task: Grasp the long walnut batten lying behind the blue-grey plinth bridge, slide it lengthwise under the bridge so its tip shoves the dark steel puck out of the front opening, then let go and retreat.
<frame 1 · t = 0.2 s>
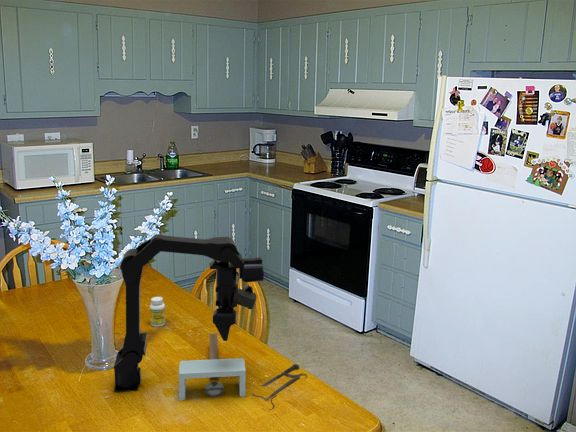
hand: (226, 333, 157), 14 cm above the table, fingers open, 9 cm apart
plinth bridge: (212, 391, 154), on the table
supplement bottle: (158, 324, 195), on the table
walnut batten: (213, 363, 169), on the table
steel puck: (214, 393, 153), on the table
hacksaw: (282, 388, 157), on the table
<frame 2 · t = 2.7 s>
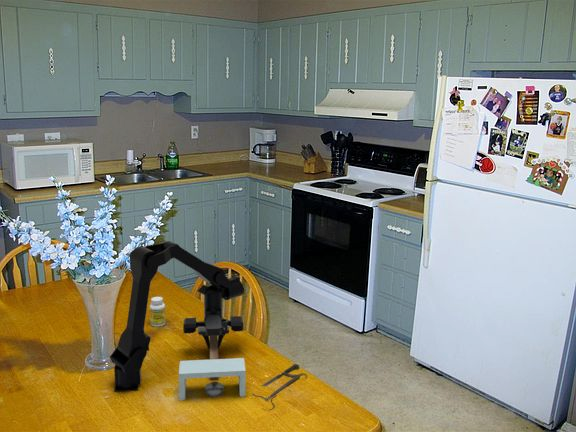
hand: (213, 348, 176), 1 cm above the table, fingers closed on walnut batten, 2 cm apart
walnut batten: (213, 362, 169), on the table, touching gripper
everything else where it was.
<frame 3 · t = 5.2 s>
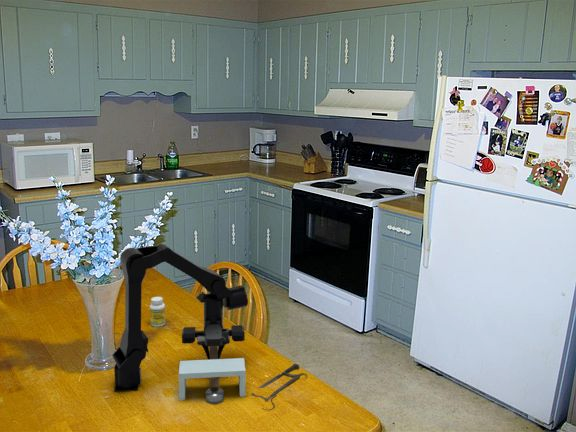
hand: (213, 359, 168), 1 cm above the table, fingers closed on walnut batten, 2 cm apart
walnut batten: (213, 374, 163), on the table, touching gripper, steel puck
steel puck: (214, 398, 150), on the table, touching walnut batten
everything else where it was.
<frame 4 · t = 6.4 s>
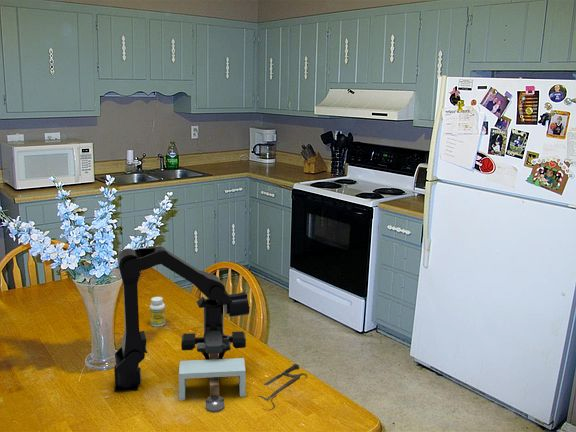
hand: (214, 366, 164), 1 cm above the table, fingers closed on walnut batten, 2 cm apart
walnut batten: (214, 381, 159), on the table, touching gripper, steel puck
steel puck: (215, 407, 147), on the table, touching walnut batten
everything else where it was.
when the fingers open (2 cm above the table, at t = 7.2 s): walnut batten stays where it is, on the table.
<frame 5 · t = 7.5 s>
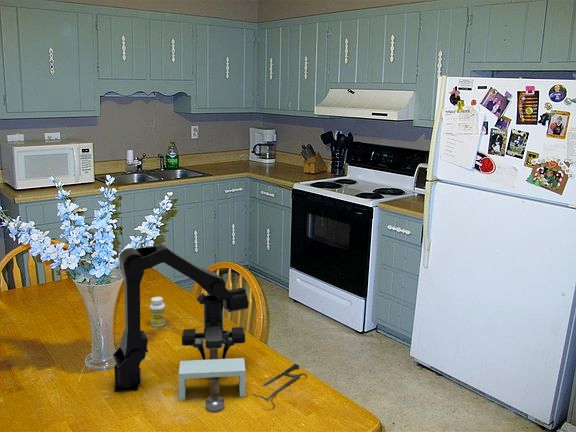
hand: (213, 361, 167), 2 cm above the table, fingers open, 5 cm apart
walnut batten: (214, 377, 162), on the table
steel puck: (215, 407, 147), on the table
everything else where it was.
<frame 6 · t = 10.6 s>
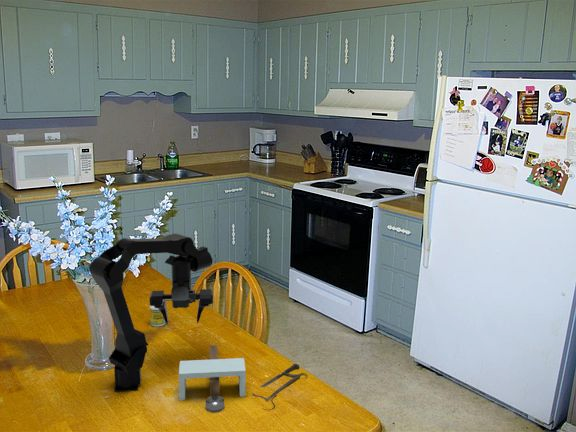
hand: (182, 323, 168), 12 cm above the table, fingers open, 9 cm apart
nothing on the table moved.
at the end: steel puck inside the target area (3.3 cm from its centre), on the table; steel puck moved 7.0 cm from its start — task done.
